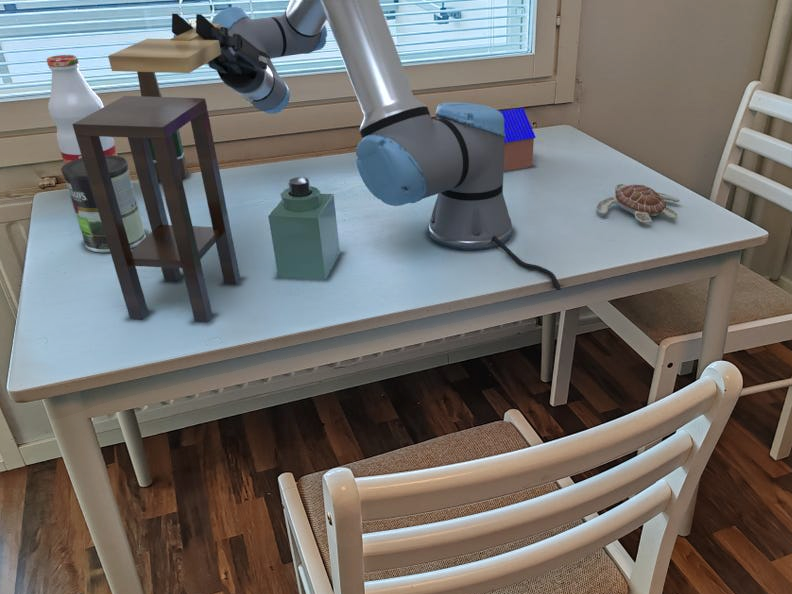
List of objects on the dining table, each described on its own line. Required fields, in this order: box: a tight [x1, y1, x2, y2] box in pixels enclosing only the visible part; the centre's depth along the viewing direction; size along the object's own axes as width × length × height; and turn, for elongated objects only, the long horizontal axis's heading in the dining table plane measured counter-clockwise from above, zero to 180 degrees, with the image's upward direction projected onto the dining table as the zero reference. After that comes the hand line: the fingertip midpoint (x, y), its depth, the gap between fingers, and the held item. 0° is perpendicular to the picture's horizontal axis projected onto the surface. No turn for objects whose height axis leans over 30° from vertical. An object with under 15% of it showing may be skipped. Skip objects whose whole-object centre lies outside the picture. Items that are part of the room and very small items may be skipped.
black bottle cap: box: [288, 176, 311, 197], centre depth 118 cm, size 3×3×2 cm
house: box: [499, 107, 536, 173], centre depth 165 cm, size 12×20×12 cm, turn 117°
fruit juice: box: [46, 54, 118, 165], centre depth 138 cm, size 9×9×28 cm
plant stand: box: [72, 95, 241, 323], centre depth 108 cm, size 14×12×29 cm
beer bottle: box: [136, 72, 188, 183], centre depth 154 cm, size 8×8×24 cm
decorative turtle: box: [595, 183, 681, 224], centre depth 145 cm, size 18×17×5 cm
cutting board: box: [107, 22, 222, 74], centre depth 110 cm, size 24×11×2 cm, turn 176°
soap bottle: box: [267, 185, 341, 281], centre depth 122 cm, size 10×8×13 cm
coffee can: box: [60, 155, 147, 254], centre depth 129 cm, size 10×10×14 cm
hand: (186, 23), depth 111 cm, fingers closed on cutting board, 3 cm apart
